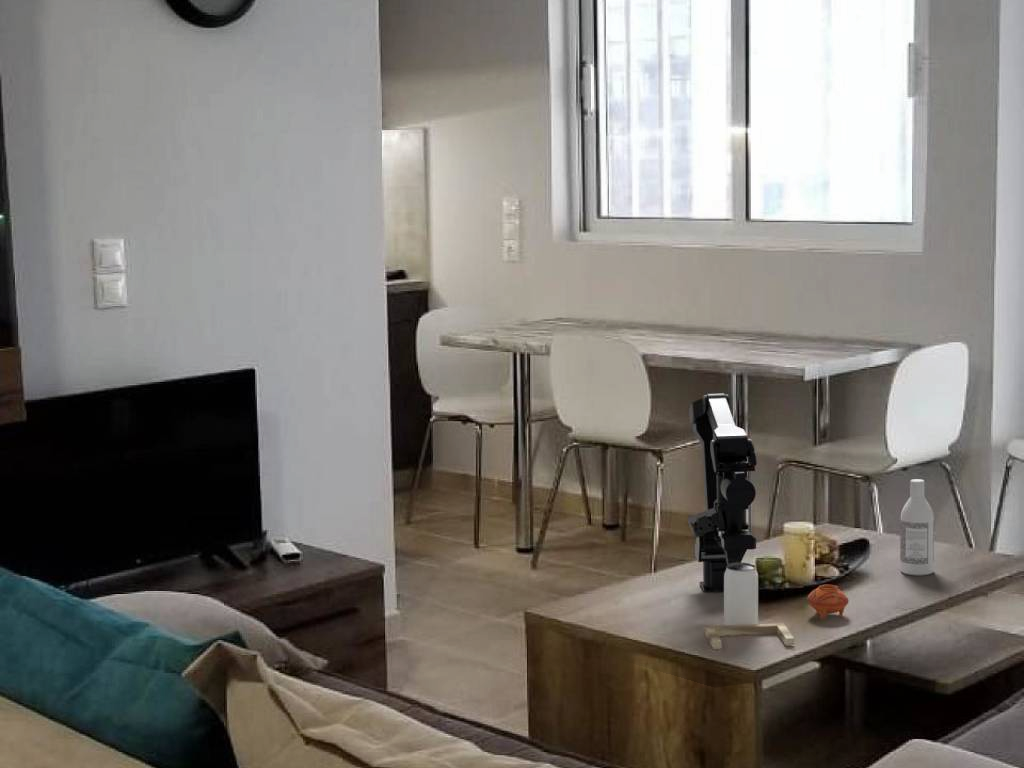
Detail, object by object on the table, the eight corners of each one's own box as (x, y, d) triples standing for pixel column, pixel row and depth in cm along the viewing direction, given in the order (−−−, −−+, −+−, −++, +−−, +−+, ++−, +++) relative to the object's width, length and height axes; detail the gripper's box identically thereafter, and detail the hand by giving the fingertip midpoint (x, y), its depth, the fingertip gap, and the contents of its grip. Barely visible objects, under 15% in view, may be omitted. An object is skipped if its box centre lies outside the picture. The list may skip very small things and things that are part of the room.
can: (731, 633, 310) (731, 572, 308) (719, 623, 316) (718, 563, 314) (763, 630, 311) (763, 569, 309) (750, 620, 318) (750, 560, 316)
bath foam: (912, 566, 354) (912, 475, 351) (940, 571, 349) (940, 479, 346) (893, 572, 349) (894, 480, 346) (921, 578, 344) (922, 485, 341)
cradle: (705, 634, 310) (705, 626, 310) (783, 630, 311) (783, 623, 310) (713, 649, 301) (713, 641, 300) (794, 646, 301) (794, 638, 301)
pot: (796, 614, 320) (801, 580, 320) (824, 616, 324) (829, 582, 324) (825, 622, 313) (830, 587, 313) (854, 624, 318) (859, 589, 318)
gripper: (683, 488, 328) (684, 564, 330) (698, 509, 310) (699, 589, 312) (738, 486, 328) (739, 561, 331) (756, 506, 310) (757, 586, 312)
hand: (732, 574), depth 321 cm, fingers closed
